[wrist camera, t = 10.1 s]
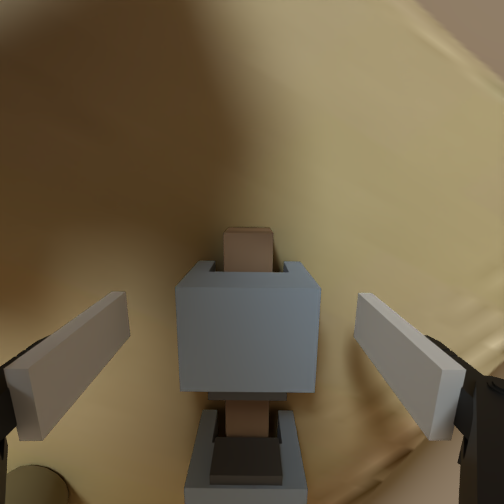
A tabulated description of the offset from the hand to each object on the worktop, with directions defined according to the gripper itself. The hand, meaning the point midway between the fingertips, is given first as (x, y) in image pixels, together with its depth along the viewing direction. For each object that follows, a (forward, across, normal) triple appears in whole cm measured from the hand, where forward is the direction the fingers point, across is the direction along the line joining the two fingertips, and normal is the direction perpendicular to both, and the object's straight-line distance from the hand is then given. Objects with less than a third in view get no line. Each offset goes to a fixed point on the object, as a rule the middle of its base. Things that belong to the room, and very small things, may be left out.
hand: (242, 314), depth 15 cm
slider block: (+4, 0, -14) cm, 14 cm away
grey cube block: (+5, 0, -1) cm, 5 cm away
